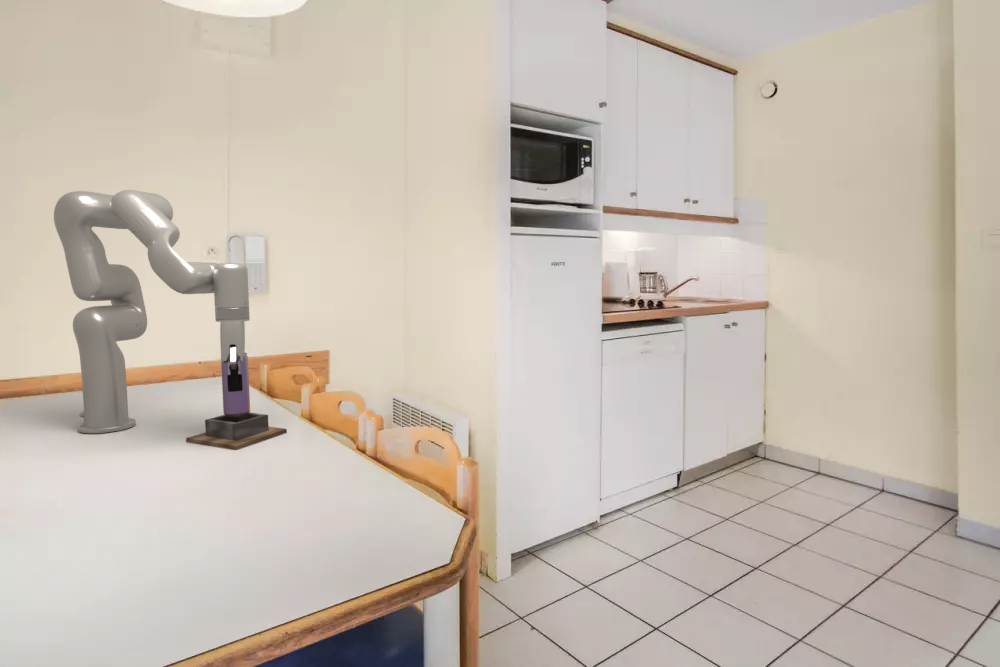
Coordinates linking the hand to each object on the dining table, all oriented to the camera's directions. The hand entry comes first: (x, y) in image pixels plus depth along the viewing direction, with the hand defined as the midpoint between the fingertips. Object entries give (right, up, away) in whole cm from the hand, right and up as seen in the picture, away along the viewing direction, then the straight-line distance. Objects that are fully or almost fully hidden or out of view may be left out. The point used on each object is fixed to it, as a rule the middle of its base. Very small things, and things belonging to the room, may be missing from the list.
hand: (235, 388), depth 144 cm
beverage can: (0, -7, +1) cm, 7 cm away
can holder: (0, -12, +1) cm, 12 cm away
